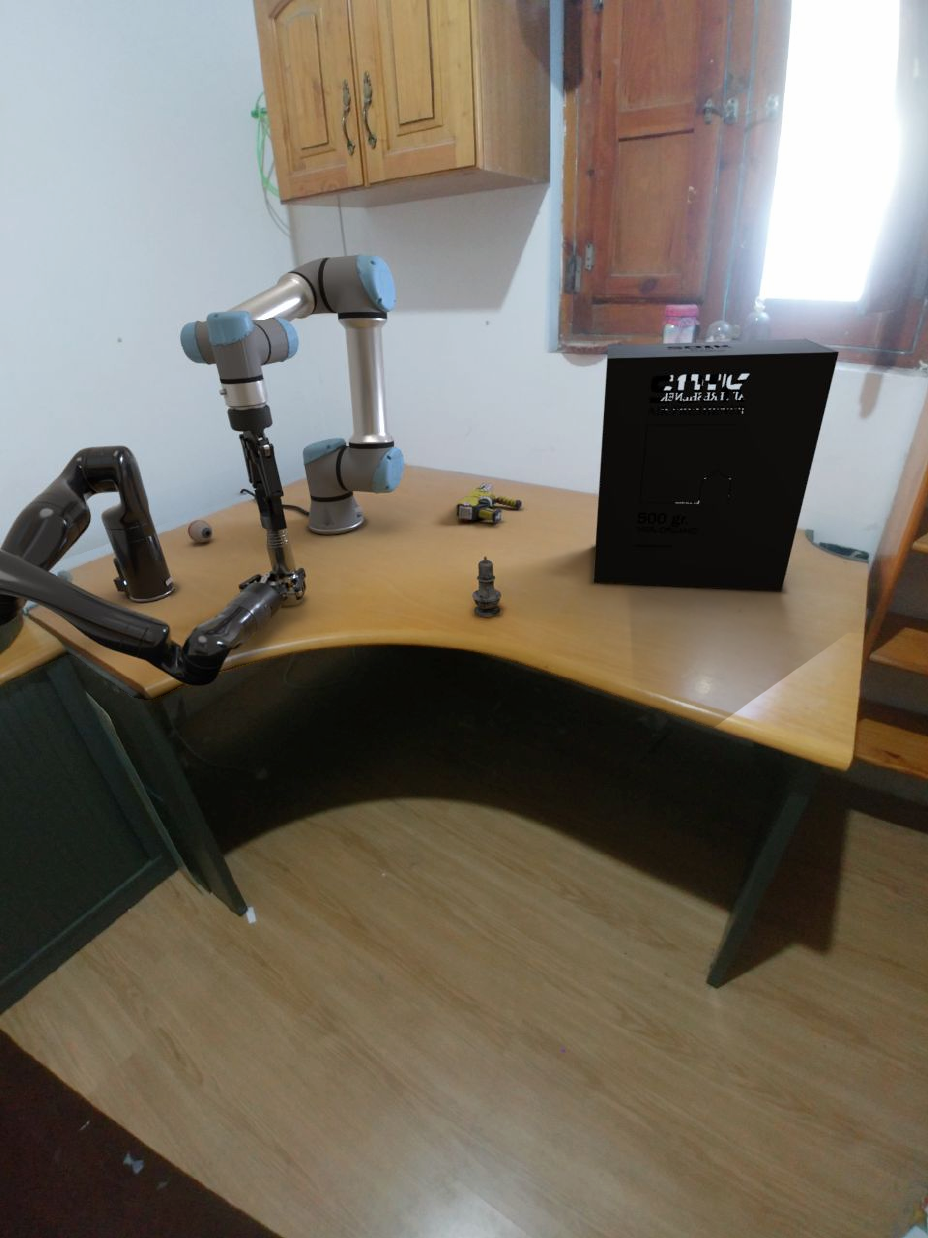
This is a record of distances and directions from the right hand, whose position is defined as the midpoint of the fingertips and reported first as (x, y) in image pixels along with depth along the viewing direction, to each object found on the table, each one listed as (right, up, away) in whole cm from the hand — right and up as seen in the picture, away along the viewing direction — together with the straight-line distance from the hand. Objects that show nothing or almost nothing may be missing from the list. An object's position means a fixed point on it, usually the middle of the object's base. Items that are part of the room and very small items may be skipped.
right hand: (274, 524), depth 122 cm
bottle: (+1, -15, +9) cm, 18 cm away
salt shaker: (+43, -18, +1) cm, 47 cm away
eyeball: (-32, +2, +42) cm, 53 cm away
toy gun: (+47, +12, +51) cm, 71 cm away
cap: (0, +2, -1) cm, 2 cm away
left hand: (+1, -9, +8) cm, 12 cm away
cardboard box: (+87, -7, +14) cm, 88 cm away
